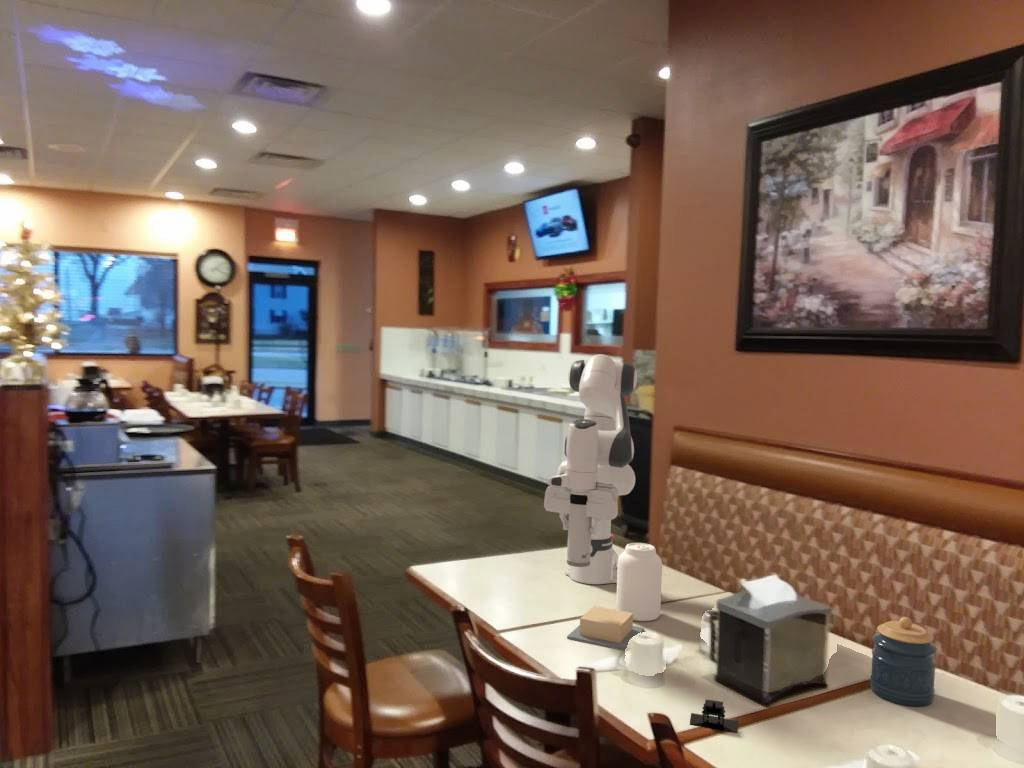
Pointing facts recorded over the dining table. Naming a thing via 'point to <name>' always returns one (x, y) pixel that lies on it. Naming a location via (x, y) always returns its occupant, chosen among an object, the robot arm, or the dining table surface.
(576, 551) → the travel mug
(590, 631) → the tan block on plate
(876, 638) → the canister
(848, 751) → the dining table surface
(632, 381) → the robot arm
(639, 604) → the white jar
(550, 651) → the dining table surface
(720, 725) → the build plate
